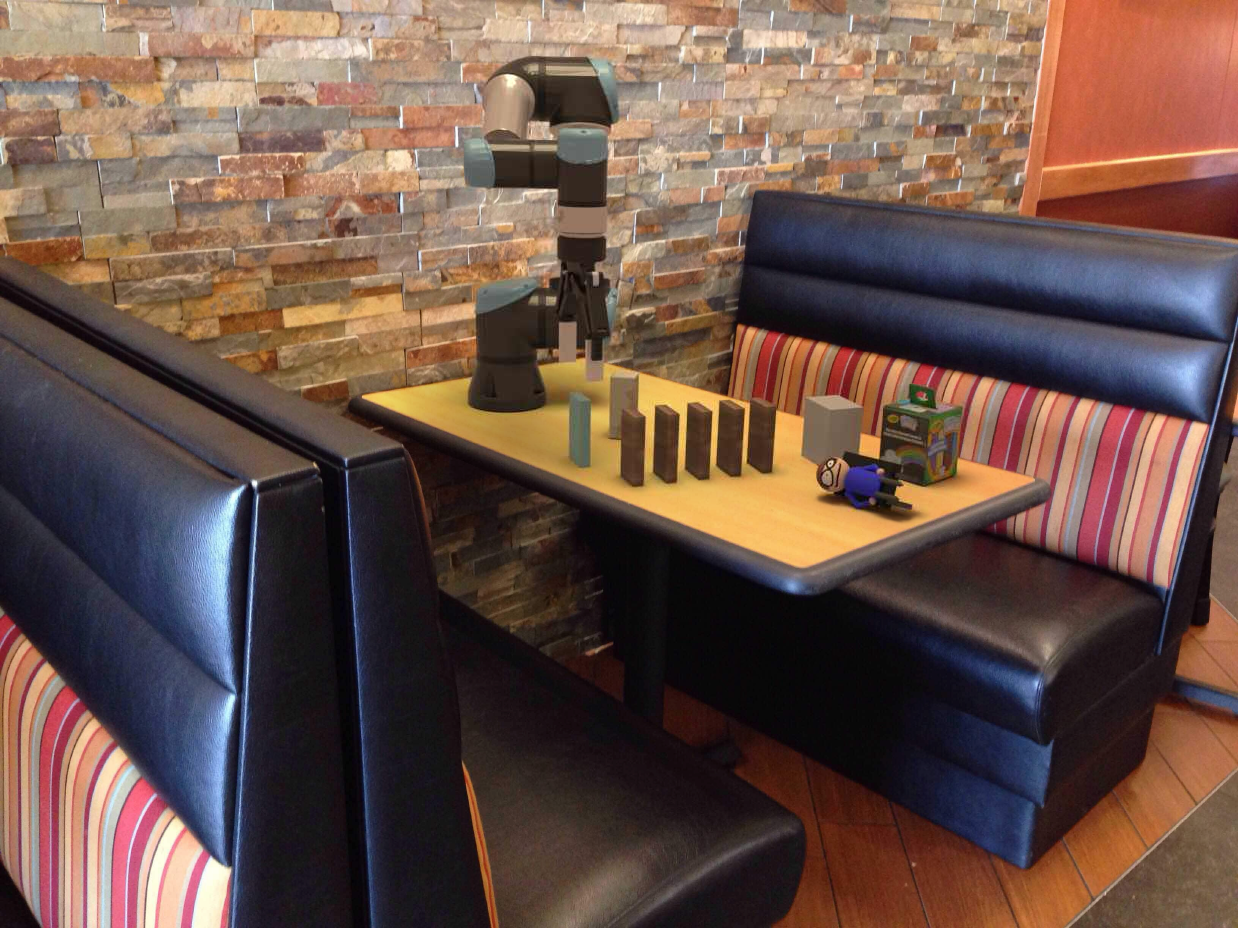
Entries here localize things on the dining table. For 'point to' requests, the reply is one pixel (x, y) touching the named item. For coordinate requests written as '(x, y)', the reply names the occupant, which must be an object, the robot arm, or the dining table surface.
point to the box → (622, 398)
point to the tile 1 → (632, 446)
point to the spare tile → (579, 429)
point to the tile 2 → (666, 443)
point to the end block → (830, 427)
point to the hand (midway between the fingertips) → (580, 371)
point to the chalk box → (921, 436)
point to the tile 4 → (730, 437)
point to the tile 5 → (761, 435)
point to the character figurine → (863, 480)
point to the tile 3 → (698, 440)
